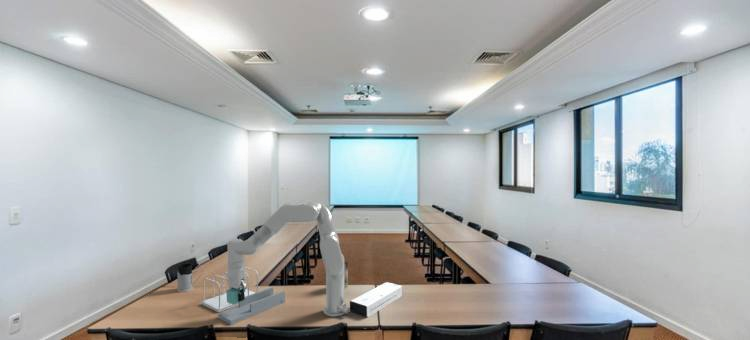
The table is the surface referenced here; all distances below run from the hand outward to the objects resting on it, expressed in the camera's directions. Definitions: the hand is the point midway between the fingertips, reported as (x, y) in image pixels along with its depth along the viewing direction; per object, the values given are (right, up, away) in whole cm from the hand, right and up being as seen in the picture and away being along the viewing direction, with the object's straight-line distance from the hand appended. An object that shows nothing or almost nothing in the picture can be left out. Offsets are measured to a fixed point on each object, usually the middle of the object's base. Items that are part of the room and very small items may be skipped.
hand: (237, 298), depth 167 cm
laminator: (+71, -9, +15) cm, 73 cm away
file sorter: (-12, -9, +19) cm, 24 cm away
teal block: (-1, -1, -1) cm, 1 cm away
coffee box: (+48, -8, +37) cm, 61 cm away
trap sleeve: (+5, -9, +8) cm, 13 cm away
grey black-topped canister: (-45, -9, +37) cm, 59 cm away
